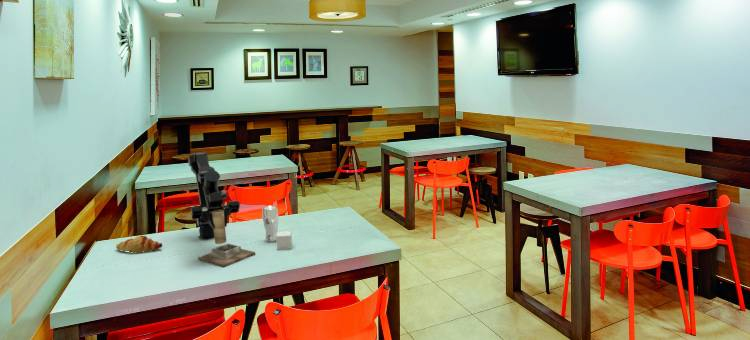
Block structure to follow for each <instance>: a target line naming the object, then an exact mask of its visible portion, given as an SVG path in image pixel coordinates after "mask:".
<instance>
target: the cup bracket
mask: <svg viewBox="0 0 750 340" xmlns="http://www.w3.org/2000/svg"><path fill="white" fill-rule="evenodd" d="M253 256H256V252H255V251H252V250H247V249H245V248H241V246H239V245H237V244H232V243H226V244H225V243H224V244H222V245H220V246H217V247H214V248H212V249H211V252H210V253H206V254H204V255H201V256H199V257H197V260H198V261H202V262H204V263H207V264H210V265H214V266H218V267H221V268H225V267H228V266H230V265H233V264H236V263H238V262H241V261H243V260H246V259H248V258H250V257H253Z"/></svg>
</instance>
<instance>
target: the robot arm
mask: <svg viewBox="0 0 750 340" xmlns="http://www.w3.org/2000/svg"><path fill="white" fill-rule="evenodd" d="M187 162H188V163H187V164H188V166H189V167H190V171H191V172H192V173H193V174H194V175H195V180H196V186H197V187H196V188H197V193H198V199H199V205H197V206H192V207H191V209H190V216H191V220H196V224H197V227H199V229H198V232H199V236H198V238H200V239H204V240H209V239H212V238H215V237H214V223H213V216H212V211H214V210H224V221H225V228H226V227H227V226H228V225H227V224H228V218H229V216H231V215H232V214H235V213H239V211H240V207H241V204H240V202H239V201H238V200H231V201H228V204H226V205H223V204H224V200H225V199H227V198H228V194H227V190H226V189H225V190H224V189H223V190H220V191H219V188H218V187H219V186H220V185H219V184H220V179H221V174H220V173H219V172H218V171H216V170H215V168H214V166H211V165H210V164H209V156H208V154H207V153H206V151H195V152H194V153H193V154H191V155H189V156H188V160H187Z"/></svg>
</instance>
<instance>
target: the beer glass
mask: <svg viewBox="0 0 750 340" xmlns="http://www.w3.org/2000/svg"><path fill="white" fill-rule="evenodd" d="M261 212H262V215H261V216H262V223H263V227H264V230H265V242H270V243H272V242H277V240H276V236H277V232H279V231H278V230H279V229H278V228H279V226H278V225H279V211H278V206H277V205H267V206H263V207H262V211H261Z"/></svg>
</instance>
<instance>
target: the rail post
mask: <svg viewBox="0 0 750 340" xmlns="http://www.w3.org/2000/svg"><path fill="white" fill-rule="evenodd" d="M212 216H213V223H214V237H213V238H214V243H215V244H216V245H221V244H222V245H223V244H225V243H227V236H226V235H227V233H226V227H225V221H224V210H214V211H212Z"/></svg>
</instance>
